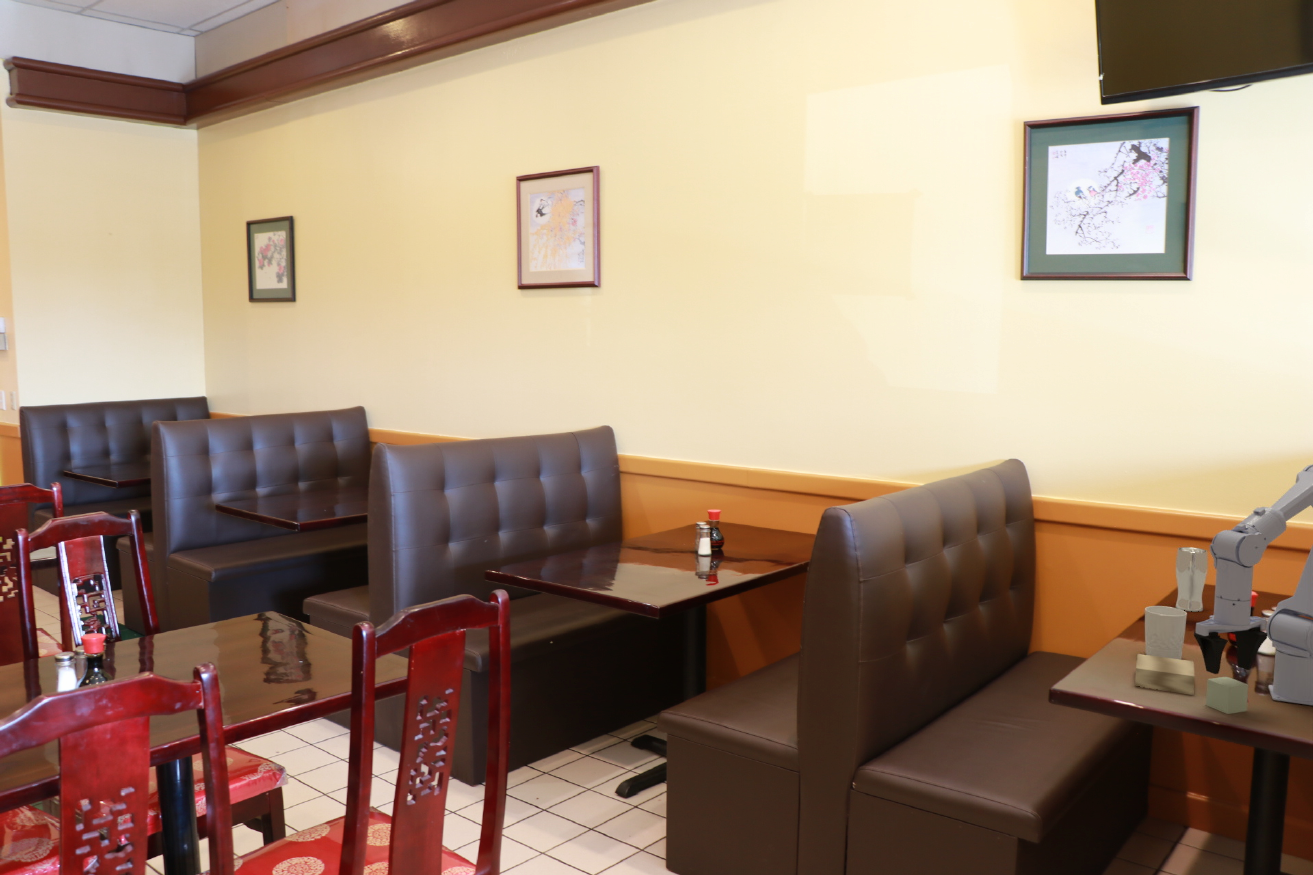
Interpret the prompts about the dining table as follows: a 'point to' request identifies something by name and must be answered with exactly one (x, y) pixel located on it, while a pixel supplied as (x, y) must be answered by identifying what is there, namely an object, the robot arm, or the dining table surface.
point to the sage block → (1227, 695)
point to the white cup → (1164, 631)
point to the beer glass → (1191, 577)
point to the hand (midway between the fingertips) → (1228, 670)
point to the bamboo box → (1165, 674)
